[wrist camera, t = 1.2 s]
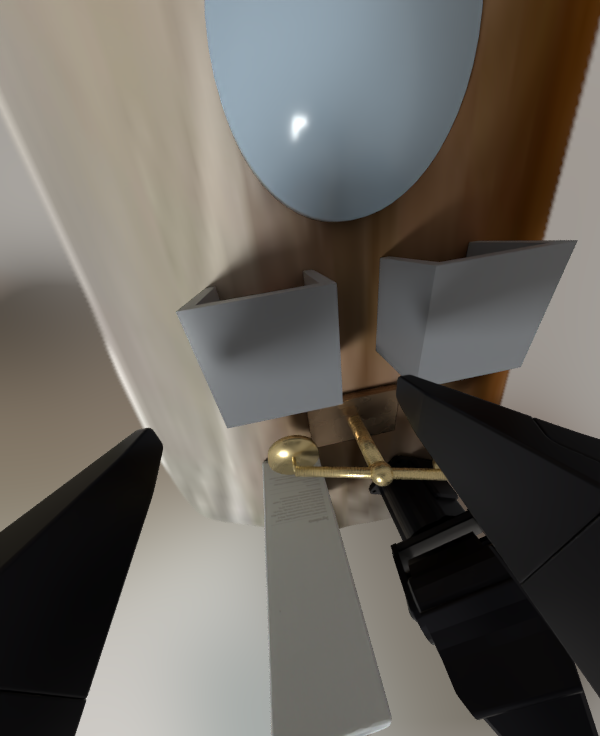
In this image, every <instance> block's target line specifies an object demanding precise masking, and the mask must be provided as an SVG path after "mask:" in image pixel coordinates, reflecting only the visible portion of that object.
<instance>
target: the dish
mask: <svg viewBox="0 0 600 736" xmlns="http://www.w3.org/2000/svg"><path fill="white" fill-rule="evenodd" d="M482 6H483V0H205V19H206V28H207V38H208V47H209V52H210V57H211V63H212V68H213V73H214V78H215V81H216V85H217V89H218V92H219V96H220V99H221V103H222V106H223V110H224V113H225V116H226V119H227V121H228V124H229V127H230V129H231V132H232V135H233V137H234V139H235V141H236V143H237V145H238V148H239V150H240V152H241V154H242V156H243V157H244V159H245V161H246V162H247V164H248V165H249V167H250V169H251V170H252V172H253V173H254V175H255V176H256V177H257V178H258V180H259V181H260V182H261V184H262V185H263V186H264V187H265V188H266V189H267V190H268V191H269V192H270V193H271V194H272V195H273V196H274V197H275V198H276V199H277V200H278V201H280V202H281V203H282V204H284V205H285V206H286V207H288V208H289V209H291V210H293V211H295V212H296V213H298V214H300V215H303V216H305V217H308V218H310V219H314V220H319V221H323V222H343V221H350V220H354V219H358V218H361V217H365V216H368V215H371V214H373V213H375V212H377V211H380V210H381V209H383V208H385V207H386V206H388V205H390V204H391V203H393V202H394V201H395V200H397V199H398V198H399V197H400V196H402V195H403V194H404V193H405V192H406V191H407V190H408V189H409V188H410V187H411V186H412V185H413V184H414V183H415V182H416V181H417V180H418V179H419V178H420V176H421V175H422V174H423V173H424V172H425V170H426V169H427V168H428V166H429V165H430V163H431V162H432V161H433V159H434V158H435V156H436V155H437V153H438V152H439V150H440V148H441V146H442V144H443V143H444V141H445V139H446V137H447V135H448V133H449V131H450V129H451V127H452V125H453V122H454V120H455V118H456V116H457V113H458V111H459V108H460V105H461V103H462V100H463V97H464V94H465V91H466V89H467V85H468V81H469V78H470V74H471V70H472V67H473V63H474V58H475V53H476V48H477V43H478V38H479V31H480V23H481V15H482Z"/></svg>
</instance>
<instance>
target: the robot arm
mask: <svg viewBox="0 0 600 736" xmlns="http://www.w3.org/2000/svg"><path fill="white" fill-rule="evenodd" d="M396 398H397V401H398V402H399V404H400V406H401V408H402V410H403V412H404V413H405V415H406V417H407V419H408V421H409V422H410V424H411V426H412V428H413V430H414V431H415V433H416V435H417V436H418V438H419V439H420V441H421V442H422V444H423V445H424V447H425V448H426V449H427V451H428V452H429V454H430V455H431V457H432V458H433V459H434V461H435V462H436V464H437V465H438V467H439V468H440V469H441V471H442V472H443V474H444V475H445V477H446V478H447V479H448V481H449V482H450V484H451V485H452V487H453V488H454V490H455V491H456V492H457V493H456V492H455V491H454V490H453V488H452V487H451V486H450V485H449V483H448V482H447V480H410V479H393V480H392V482H391V483H390V484H389V485H387V486H379V485H377V484H375V483H373V484H372V485H371V486H370V488H369V491H370V493H371V494H380V495H382V497H383V499H384V502H385V504H386V506H387V508H388V510H389V512H390V514H391V517H392V519H393V521H394V523H395V525H396V527H397V529H398V532H399V534H400V536H401V538H402V540H403V541H402V542H400V543H398V544H396V543H395V544H393V545H391V549H392V554H393V558H394V561H395V564H396V568H397V571H398V574H399V577H400V580H401V583H402V586H403V589H404V592H405V596H406V600H407V605H408V610H409V613H410V615H411V617H412V618H413V619H414V620H415V621H416V622H418V624H419V626H420V628H421V630H422V631H423V633H424V635H425V636H426V638H427V639H428V641H429V642H430V643H431V644H432V645H435V646H436V648H437V650H438V652H439V654H440V657H441V658H442V660H443V663H444V665H445V668H446V671H447V673H448V675H449V678H450V680H451V682H452V685H453V687H454V690H455V692H456V694H457V695H458V697H459V698H460V700H461V701H462V702H463V703H464V705H465V706H466V708H467V709H468V710H469V711H470V713H471V714H472V715H473V716H474V717H475V719H477V720H480V719H484V720H485V721H486V722H487V723H488V724H489V726H490V727H491V728H492V729H493V730H494V731H495V732H496V734H497V735H498V736H598V733H597V730H596V727H595V724H594V721H593V718H592V714H591V711H590V709H589V705H588V702H587V699H586V696H585V693H584V690H583V687H582V684H581V681H580V678H579V675H578V672H577V669H576V666H575V663H576V665H577V666H578V668H579V669H580V670H581V672H582V673H583V675H584V676H585V678H586V679H587V681H588V682H589V683H590V685H591V686H592V688H593V689H594V691H595V692H596V693H597V695H598V696H599V698H600V439H597V438H594V437H590V436H587V435H584V434H581V433H578V432H575V431H572V430H569V429H566V428H563V427H560V426H557V425H554V424H551V423H549V422H546V421H543V420H540V419H537V418H532V417H531V416H528V415H525V414H522V413H520V412H517V411H514V410H511V409H508V408H505V407H503V406H500V405H497V404H494V403H491V402H488V401H485V400H483V399H480V398H477V397H474V396H471V395H468V394H465V393H462V392H460V391H457V390H454V389H451V388H448V387H445V386H442V385H439V384H437V383H434V382H431V381H428V380H425V379H422V378H419V377H416V376H414V375H410V374H408V375H403V376H400V377H398V380H397V388H396ZM162 452H163V445H162V442H161V441H160V439H159V438H158V436H157V435H156V434H155V432H154V431H153V429H151V428H145V429H140V430H137V431H135V432H134V433H132V434H131V435H130V436H128V437H127V438H126V439H124V440H123V441H122V442H120V443H119V444H118V445H117V446H115V447H114V448H112V449H111V450H110V451H108V452H107V453H106V454H104V455H103V456H101V457H100V458H99V459H97V460H96V461H95V462H93V463H92V464H91V465H89V466H88V467H87V468H85V469H84V470H83V471H81V472H80V473H79V474H78V475H76V476H75V477H73V478H72V479H71V480H70V481H68V482H67V483H65V484H64V485H63V486H61V487H60V488H59V489H57V490H56V491H55V492H53V493H52V494H51V495H49V496H48V497H47V498H45V499H44V500H43V501H41V502H40V503H39V504H37V505H36V506H35V507H33V508H32V509H30V511H28V512H26V513H25V514H24V515H22V516H21V517H20V518H18V519H17V520H16V521H14V522H13V523H12V524H10V525H9V526H8V527H6V528H5V529H4V530H3V531H1V532H0V736H75V734H76V731H77V728H78V725H79V721H80V718H81V715H82V712H83V709H84V706H85V703H86V698H87V696H88V692H89V690H90V687H91V684H92V680H93V678H94V674H95V671H96V668H97V665H98V662H99V659H100V656H101V653H102V650H103V647H104V644H105V641H106V637H107V635H108V631H109V628H110V625H111V622H112V619H113V616H114V613H115V610H116V607H117V604H118V601H119V597H120V595H121V592H122V588H123V585H124V582H125V579H126V576H127V573H128V570H129V567H130V564H131V561H132V558H133V555H134V552H135V549H136V545H137V542H138V539H139V536H140V533H141V530H142V527H143V524H144V520H145V518H146V515H147V511H148V509H149V505H150V502H151V499H152V496H153V492H154V488H155V484H156V480H157V475H158V470H159V466H160V461H161V457H162ZM432 462H433V461H430V460H424V459H417V458H411V457H404V456H396V457H394V458H393V459H392V461H391V462H390V463H389V465H390V466H391V468H433V465H432ZM457 494H458V495H459V497H460V498H461V499H462V501H463V502H464V504H465V505H466V507H467V508H468V509H467V510H468V511H465V510H464V509H463V508H462V506H461V505H460V504H459V502H458V501H457V499H458V495H457ZM482 532H483V533H484V534H485V536H484V537H482V538H480V539H478V537H477V536H476V535H477V534H480V533H482ZM574 662H575V663H574Z"/></svg>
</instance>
